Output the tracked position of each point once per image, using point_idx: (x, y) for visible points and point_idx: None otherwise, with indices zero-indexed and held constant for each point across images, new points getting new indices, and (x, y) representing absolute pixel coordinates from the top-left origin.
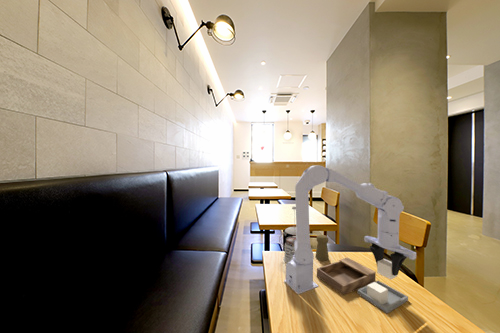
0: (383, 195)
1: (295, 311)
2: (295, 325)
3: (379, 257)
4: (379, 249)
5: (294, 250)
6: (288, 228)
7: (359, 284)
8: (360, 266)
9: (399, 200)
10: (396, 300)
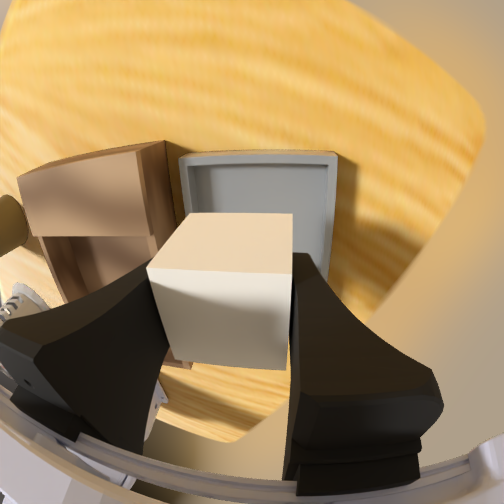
0: None
1: (210, 422)
2: (238, 434)
3: (151, 351)
4: (116, 424)
5: None
6: None
7: None
8: (79, 189)
9: None
10: (307, 209)
